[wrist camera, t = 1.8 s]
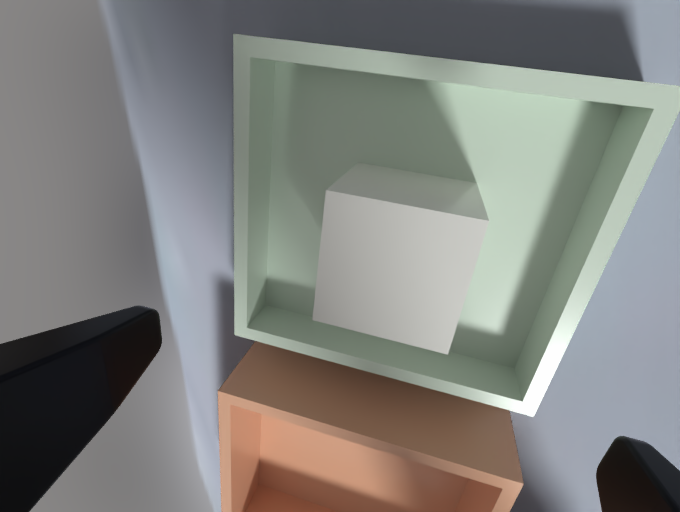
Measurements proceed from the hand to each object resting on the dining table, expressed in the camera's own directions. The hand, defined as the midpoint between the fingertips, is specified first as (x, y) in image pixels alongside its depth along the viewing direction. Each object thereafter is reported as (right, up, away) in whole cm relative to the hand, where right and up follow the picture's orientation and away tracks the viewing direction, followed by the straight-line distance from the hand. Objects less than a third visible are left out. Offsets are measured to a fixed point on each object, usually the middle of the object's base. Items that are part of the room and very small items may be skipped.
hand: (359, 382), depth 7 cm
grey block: (+2, +4, +8) cm, 9 cm away
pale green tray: (+2, +4, +8) cm, 10 cm away
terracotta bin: (+1, -9, +14) cm, 17 cm away
